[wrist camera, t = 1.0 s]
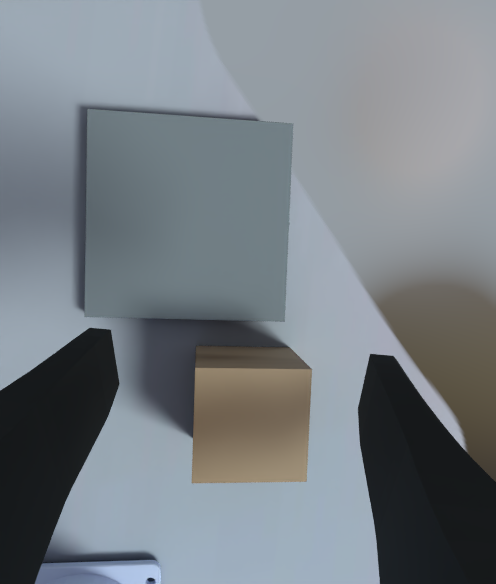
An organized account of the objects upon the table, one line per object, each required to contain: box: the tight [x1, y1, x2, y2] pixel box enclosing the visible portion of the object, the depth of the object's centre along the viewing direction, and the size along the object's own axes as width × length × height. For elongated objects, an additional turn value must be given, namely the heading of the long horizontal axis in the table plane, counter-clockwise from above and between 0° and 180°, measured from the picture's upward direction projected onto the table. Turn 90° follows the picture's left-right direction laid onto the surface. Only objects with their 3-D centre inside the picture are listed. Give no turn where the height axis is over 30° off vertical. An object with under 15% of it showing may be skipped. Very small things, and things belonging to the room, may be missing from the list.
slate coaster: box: [85, 109, 293, 322], centre depth 23 cm, size 10×10×1 cm
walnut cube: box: [192, 346, 312, 483], centre depth 22 cm, size 5×5×5 cm
